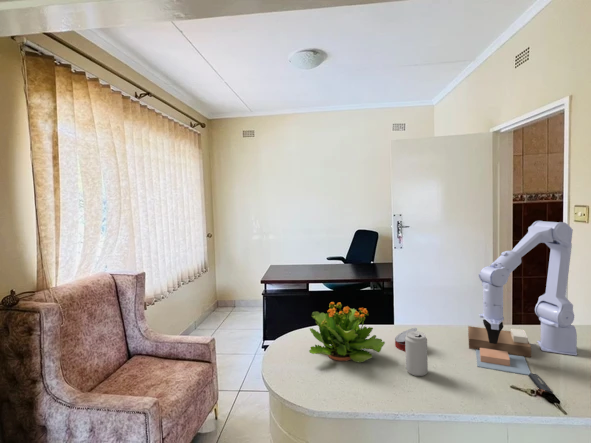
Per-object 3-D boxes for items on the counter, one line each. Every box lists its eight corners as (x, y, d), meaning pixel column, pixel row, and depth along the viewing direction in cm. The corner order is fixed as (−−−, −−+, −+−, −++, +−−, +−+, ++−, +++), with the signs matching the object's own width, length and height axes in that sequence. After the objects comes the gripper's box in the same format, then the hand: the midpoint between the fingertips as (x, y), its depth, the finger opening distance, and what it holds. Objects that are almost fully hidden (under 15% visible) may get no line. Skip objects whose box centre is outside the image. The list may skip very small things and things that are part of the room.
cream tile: (524, 335, 117) (524, 329, 117) (527, 343, 110) (527, 337, 110) (510, 333, 118) (510, 328, 118) (513, 341, 112) (513, 336, 112)
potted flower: (324, 380, 100) (322, 324, 99) (292, 349, 121) (290, 302, 120) (389, 360, 110) (388, 309, 109) (350, 335, 132) (348, 292, 130)
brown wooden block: (524, 342, 119) (524, 332, 119) (531, 357, 108) (531, 347, 108) (468, 335, 127) (468, 326, 127) (469, 348, 116) (469, 338, 116)
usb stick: (553, 396, 88) (553, 391, 88) (542, 395, 89) (542, 390, 88) (537, 377, 97) (537, 372, 97) (527, 377, 98) (527, 372, 98)
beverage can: (417, 379, 98) (416, 340, 97) (401, 370, 104) (400, 333, 103) (432, 373, 101) (431, 335, 100) (415, 364, 107) (415, 328, 106)
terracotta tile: (510, 360, 103) (509, 366, 103) (507, 351, 108) (507, 357, 108) (480, 355, 106) (480, 361, 106) (479, 347, 112) (479, 353, 112)
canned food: (411, 363, 116) (405, 346, 112) (392, 351, 123) (386, 334, 120) (429, 344, 119) (423, 327, 116) (409, 334, 127) (403, 317, 123)
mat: (524, 357, 108) (524, 356, 108) (531, 375, 97) (531, 374, 97) (475, 350, 114) (475, 349, 114) (477, 366, 104) (477, 366, 104)
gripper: (478, 295, 117) (478, 332, 118) (480, 308, 104) (480, 350, 105) (501, 297, 114) (501, 335, 115) (506, 311, 101) (506, 353, 102)
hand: (492, 342), depth 110 cm, fingers closed
